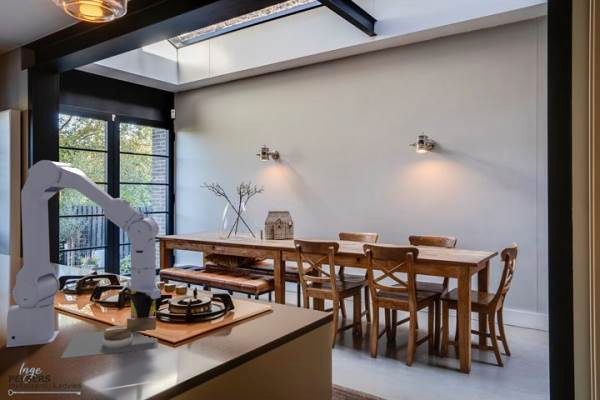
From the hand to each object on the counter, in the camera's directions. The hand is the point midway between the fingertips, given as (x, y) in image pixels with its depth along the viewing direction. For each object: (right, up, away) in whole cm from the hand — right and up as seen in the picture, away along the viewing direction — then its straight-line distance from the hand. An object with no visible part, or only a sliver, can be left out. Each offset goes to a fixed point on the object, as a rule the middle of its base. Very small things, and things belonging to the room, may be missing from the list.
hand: (143, 322), depth 104 cm
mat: (-6, -4, -2) cm, 8 cm away
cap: (-2, -2, -2) cm, 4 cm away
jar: (-5, -4, -3) cm, 7 cm away
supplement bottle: (-6, -4, +16) cm, 18 cm away
